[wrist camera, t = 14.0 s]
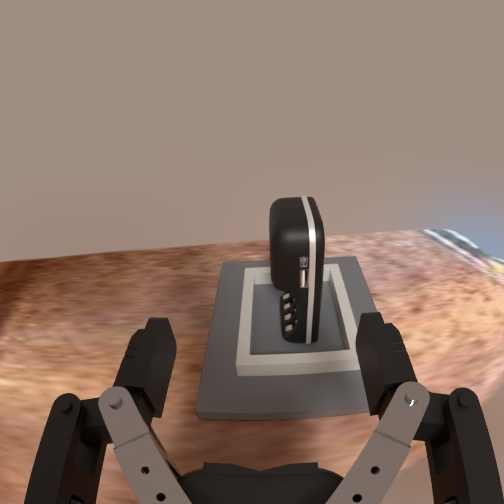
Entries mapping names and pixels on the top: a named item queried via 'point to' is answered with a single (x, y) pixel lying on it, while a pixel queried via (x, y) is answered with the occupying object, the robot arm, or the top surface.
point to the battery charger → (297, 265)
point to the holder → (283, 348)
